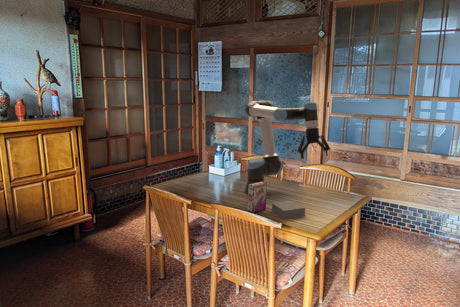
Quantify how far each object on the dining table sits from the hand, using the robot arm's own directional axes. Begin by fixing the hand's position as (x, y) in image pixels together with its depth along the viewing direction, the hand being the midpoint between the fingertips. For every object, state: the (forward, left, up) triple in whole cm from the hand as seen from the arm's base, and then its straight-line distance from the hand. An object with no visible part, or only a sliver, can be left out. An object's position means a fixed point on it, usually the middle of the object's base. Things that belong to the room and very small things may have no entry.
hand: (314, 162), depth 213 cm
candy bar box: (-6, -35, -28) cm, 45 cm away
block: (+5, -20, -28) cm, 35 cm away
